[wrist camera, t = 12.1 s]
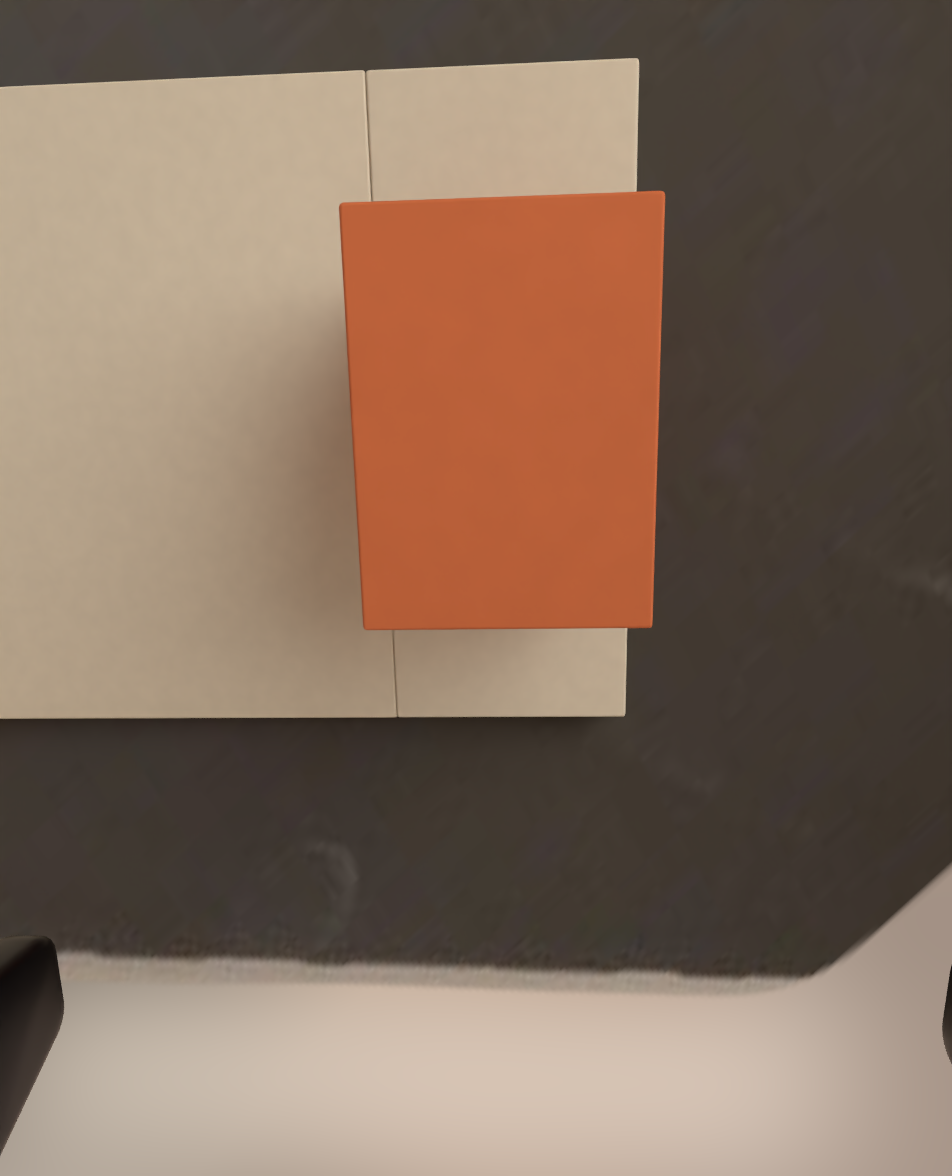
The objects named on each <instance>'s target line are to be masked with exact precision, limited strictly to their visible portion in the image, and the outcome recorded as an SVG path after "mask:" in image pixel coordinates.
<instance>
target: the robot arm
mask: <svg viewBox="0 0 952 1176" xmlns="http://www.w3.org/2000/svg"><path fill="white" fill-rule="evenodd" d="M63 1014H64V1000H63V994H62V987H61V980H60V974H59V967H58V960H57V954H56V949H55V945H54V944H53V942H52V940H51V939H49V938H47V937H45V936H21V935H15V936H8V937H5V938H3V939H1V940H0V1155H1V1153H2V1151H3V1149H4V1147H5V1144H6V1142H7V1140H8V1138H9V1136H10V1134H11V1132H12V1130H13V1128H14V1125H15V1123H16V1121H17V1119H18V1117H19V1115H20V1113H21V1111H22V1108H23V1106H24V1104H25V1102H26V1100H27V1098H28V1096H29V1094H30V1091H31V1089H32V1087H33V1085H34V1083H35V1081H36V1079H37V1077H38V1075H39V1072H40V1070H41V1068H42V1066H43V1064H44V1062H45V1060H46V1058H47V1055H48V1053H49V1051H50V1049H51V1047H52V1044H53V1043H54V1040H55V1038H56V1036H57V1034H58V1032H59V1029H60V1026H61V1023H62V1019H63ZM942 1030H943V1040H944V1045H945V1048H946V1051H947V1054H948V1056H949V1059H950V1061H951V1063H952V966H951V970H950V977H949V983H948V990H947V996H946V1003H945V1010H944V1017H943V1026H942Z"/></svg>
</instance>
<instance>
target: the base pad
mask: <svg viewBox="0 0 952 1176" xmlns="http://www.w3.org/2000/svg"><path fill="white" fill-rule="evenodd" d="M638 93H639V61H638V59H637V58H627V59H605V60H583V61H562V62H540V63H518V64H497V65H475V66H454V67H432V68H410V69H389V70H369V71H367V72H366V74H365V72H364V71H363V70H359V71H337V72H316V73H294V74H272V75H251V76H229V77H208V78H186V79H164V80H143V81H121V82H100V83H78V84H56V85H35V86H13V87H0V719H34V718H348V717H396V716H397V715H398V717H603V716H624V715H625V705H626V658H627V628H577V629H457V630H365V629H364V627H363V616H362V599H361V582H360V564H359V547H358V530H357V512H356V495H355V478H354V461H353V443H352V426H351V409H350V391H349V374H348V357H347V340H346V322H345V305H344V288H343V270H342V253H341V236H340V219H339V205H340V204H341V203H344V202H371V201H398V200H425V199H452V198H479V197H506V196H533V195H560V194H587V193H615V192H636V187H637V140H638Z"/></svg>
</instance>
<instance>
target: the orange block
mask: <svg viewBox="0 0 952 1176" xmlns="http://www.w3.org/2000/svg"><path fill="white" fill-rule="evenodd" d="M664 215H665V194H664V192H662V191H642V192H615V193H587V194H560V195H533V196H506V197H479V198H452V199H425V200H398V201H371V202H344V203H341V204H340V205H339V219H340V236H341V253H342V270H343V288H344V305H345V322H346V340H347V357H348V374H349V391H350V409H351V426H352V443H353V461H354V478H355V495H356V512H357V530H358V547H359V564H360V582H361V599H362V616H363V627H364V629H365V630H457V629H577V628H649V627H651V626H652V619H653V586H654V552H655V518H656V484H657V451H658V417H659V383H660V350H661V316H662V282H663V249H664Z"/></svg>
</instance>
